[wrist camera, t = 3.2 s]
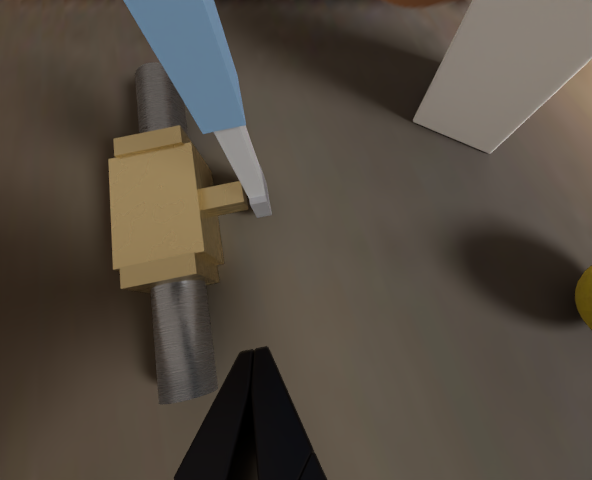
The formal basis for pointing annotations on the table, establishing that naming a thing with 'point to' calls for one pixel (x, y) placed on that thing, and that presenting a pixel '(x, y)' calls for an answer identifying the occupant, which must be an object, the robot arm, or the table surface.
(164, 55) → the lever
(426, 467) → the table surface
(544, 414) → the table surface
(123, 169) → the valve
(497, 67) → the milk
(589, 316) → the lemon
